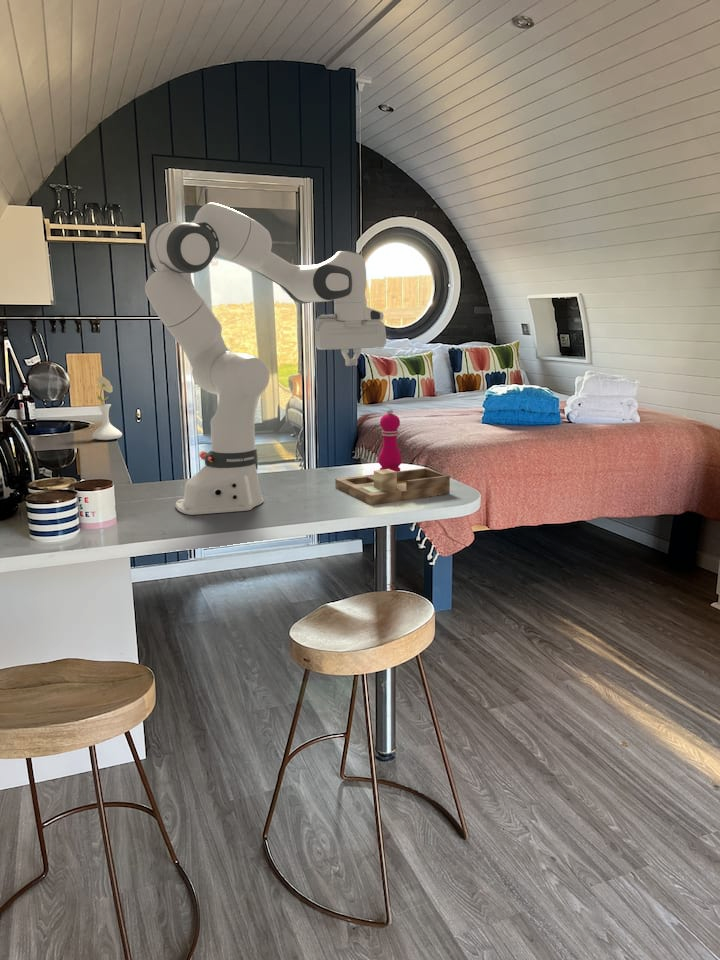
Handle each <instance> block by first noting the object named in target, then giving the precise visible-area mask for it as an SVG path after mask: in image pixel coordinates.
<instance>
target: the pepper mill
mask: <svg viewBox="0 0 720 960" xmlns="http://www.w3.org/2000/svg"><path fill="white" fill-rule="evenodd" d="M386 413H387V414H384V415H383V416H382V417H381V418H380V420H379V425H380V427H381V429H382V430H381V435H382V437H383V440H382V442H383V444H382V447H381V450H380V453H379V454H378V457H377V458H378V459H377V461H378V465H380V468H379V470H383V469H390V470H393V471H396V472H397V471H401V468H400V466H401V465H402V461H403V458H402V457H403V456H402V454H401V452H400V449H399V447H398V443H397V438H398V435H399V429H398V428H399V427H400V426H401V420H400V418H399V416H398V415H395V414H394V411H393V409H392V408H388V409H387V410H386Z"/></svg>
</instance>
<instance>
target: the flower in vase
mask: <svg viewBox="0 0 720 960" xmlns="http://www.w3.org/2000/svg"><path fill="white" fill-rule="evenodd" d="M96 380H97V384H98V385H99V386H100V387H101V389H100V394H98V395H97V400H98V401H99V400H100V401H101V402H102V404H98V405H97V406H98V407H99V409H100V411H101V414H102V424H101V425H100V426H99V427H98V428H97V429H96V430H95V431H94V432H93V433H92V434H91V435H92V437H91V438H93V439H95V440H99V441H111V440H115V439H119V438H121V437H122V436H123V433H122V432H121V431H120V430H119V429H118V428H116V427H115V426H114V425H113V424H112V423H110V419H109V417H110V416H109V415H110V414H109V413H110V412H109V411H110V409H111V406H112V404H110V403H104V401H106V400H107V399H109V395H107V397H105V398H104V399H102V392H103V390H104V391H105V392H107V393H109V394H111V393H112V392H113V391H114V390H113V389H114V387H113V386H112V384H111V381H110V380H108V379H107V378H105V376H101V375H99V376H98V377H97V378H96Z"/></svg>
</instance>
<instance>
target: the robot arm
mask: <svg viewBox="0 0 720 960" xmlns="http://www.w3.org/2000/svg"><path fill="white" fill-rule="evenodd" d="M145 243H146V252H147V255H148V259H149V260H148V261H149V267H150V269H151V271H152V272H153V273H151V275H150V276H149V277H148V279H147V281H146V282H145V286H144V292H145V295H146V297H147V299H148V301H149V303H150V305H151V307H152V308H153V309H152V310H154V311H155V314H156V315H157V317H158V318H159V320H160V321H161V322H162V324H163V325H164V326H165V327H166V329H167V330H168V332H169V333H170V334H171V335H172V337H173V338H174V340H175V341H176V342H177V343H178V345H179V346H180V347H181V349H182V350H183V352H184V354H185V355H186V357H187V360H188V362H189V364H190V366H191V368H192V370H191V375H192V378H193V381H194V382H195V384H196V386H198V387H199V388H200V389H202V390H204V391H205V392H208V393H209V394H212V395H218V397H219V398H218V403H217V408H216V411H215V414H213V416H212V417H211V419H210V439H211V442H210V443H211V450H210V451H208V452H206V451H203V450H202V451H200V453H199V454H198V455H199V458H200V459H201V460H203V461H204V466H203V467H202V468H201V469H200V470H198V472H196V473H195V474H194V475H193V476H191V477H190V478H189V479H188V480H187V481H186V483H185V486H184V492H183V493H184V494H183V498H181V499H178V500H176V502H175V508H176V510H177V511H179V512H181V513H182V514H185V515H189V516H190V515H191V516H193V515H194V516H195V515H206V514H220V513H233V512H234V513H235V512H245V511H250V510H252V509H253V508H254V507H257V506H259V505H261V504H262V503H264V498H263V495H262V491H261V487H260V482H259V478H258V466H259V458H258V457H259V456H258V449H257V448H256V442H255V441H256V438H255V435H256V434H255V432H256V431H255V430H256V429H255V420H256V419H255V418H256V413H257V407H258V403H259V400H260V397H261V395H262V394H263V393H264V392H265V390H266V389H267V387H268V386H269V382H270V370H269V368H268V365H266V363H265V362H264V361H263V360H262V359H261V358H258V356H257V357H256V356H254V355H252V354H250V353H247V352H246V353H245V352H242V353H241V352H233V351H231V350H230V349H229V348H228V346H227V345H226V343H225V342H224V339H223V337H222V330H223V329H222V328H223V327H222V324H221V322H220V321H219V319H218V318H217V317H216V316H215V314H214V313H213V311H212V310H211V308H210V307H209V306H208V304H207V303H206V301H205V299H204V298H203V297H202V296H201V294H200V293H199V292H198V291H197V289H196V288H195V285H194V283H193V280H192V274H194V273H198V272H199V273H200V272H201V271H203V270H204V269H206V268H207V267H208V266H209V265H210V264H211V263H212V261H213V259H214V257H215V255H216V254H218V255H219V256H221V257H223V258H226V259H227V260H229V261H231V262H233V263H236V264H238V265H240V266H243V267H245V268H248V269H250V270H253V271H254V272H256V273H258V274H260V275H261V276H263V277H265V278H266V279H268V280H270V281H272V282H273V283H275V284H277V285H278V286H280V287H281V288H282V289H283V290H284V291H285V292H286V293H287V295H288V296H289V297H290V298H291V299H292V300H293V301H294V302H296V303H298V304H305V305H306V304H309V303H310V304H311V303H321V302H322V303H324V302H330V301H333V303H334V304H333V310H334V311H333V312H334V313H332V314H319V315H320V316H317V317H316V319H315V320H314V321H315V322H314V323H315V326H314V327H315V339H314V344H315V345H314V346H315V347H316V349H317V350H322V351H323V350H324V351H325V350H327V351H328V350H340V352H341V353H340V354H341V355H342V357H343V359H344V363H345V364H344V365H345V366H347V367H352V366H353V367H354V366H358V359H359V357H360V355H361V354H362V349H375V348H376V349H377V348H379V349H380V348H385V346H386V344H387V331H386V326H385V325H386V324H385V323H384V322H383V319H384V313H383V312H382V311H379V310H376V309H374V308H371V307H368V304H367V303H368V301H367V298H366V289H367V266H366V262H365V258H364V257H363V255H361V254H360V253H358V252H355V251H349V250H339V251H337V252H335V254H334V255H333V256H332V257H330V258H328V259H327V260H325V261H322V262H320V263H317V264H309V265H308V264H307V265H306V264H305V265H304V264H302V265H300V264H297V265H296V264H292V263H290V262H289V261H287V260H285V259H284V258H282V257H280V256H279V255H277V254H276V253H274V252H272V247H273V240H272V236H271V233H270V231H269V230H268V229H267V228H266V227H265V226H263V224H261V223H260V222H258V221H257V220H255V219H253V218H251V217H250V216H247V215H245V214H244V213H242V212H240V211H237V210H235V209H234V208H230V207H228V206H225V205H222V204H219V203H216V202H209V203H208V202H207V203H205V204H204V205H202V206H201V207H200V208H199V210H197V212H196V214H195V216H194V219H193V220H192V221H191V222H183V221H169V222H168V221H166V222H165V221H164V222H161V223H159V224H157V225H155V226H154V227H153V228H151V230H149V232H148V234H147V236H146V241H145ZM351 349H352V350H353V353H354V354H353V357H352V358H350V356H349V353H350V350H351Z"/></svg>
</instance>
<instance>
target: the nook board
mask: <svg viewBox="0 0 720 960" xmlns="http://www.w3.org/2000/svg"><path fill="white" fill-rule="evenodd" d="M334 483H335V488H336V489H338V490H340V491H342V492H343V493H345V494H348V495H350V496H352V497H354V498H356V499H358V500H360V501H363V502H364V503H366V504H368V505H371V506H372V505H381V504H387V503H395V502H401V501H410V500H415V499H422V498H423V497H424V498H430V497H429V496H432V497H438V496H437V495H439V496H444V495H443V494H446V495H449V494H448V493H450V494H451V491H450V488H451V487H450V486H451V475H448V474H445V473H442V472H439V471H437V470H433V469H431V468H428V467H424V468H423V467H422V468H416V469H408V470H400V471H397V488H396V489H389V490H380V489H377V488H375V487H374V473H373V474H366V475H358V476H357V475H356V476H350V477H340V478H335V482H334ZM424 498H423V499H424Z"/></svg>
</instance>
